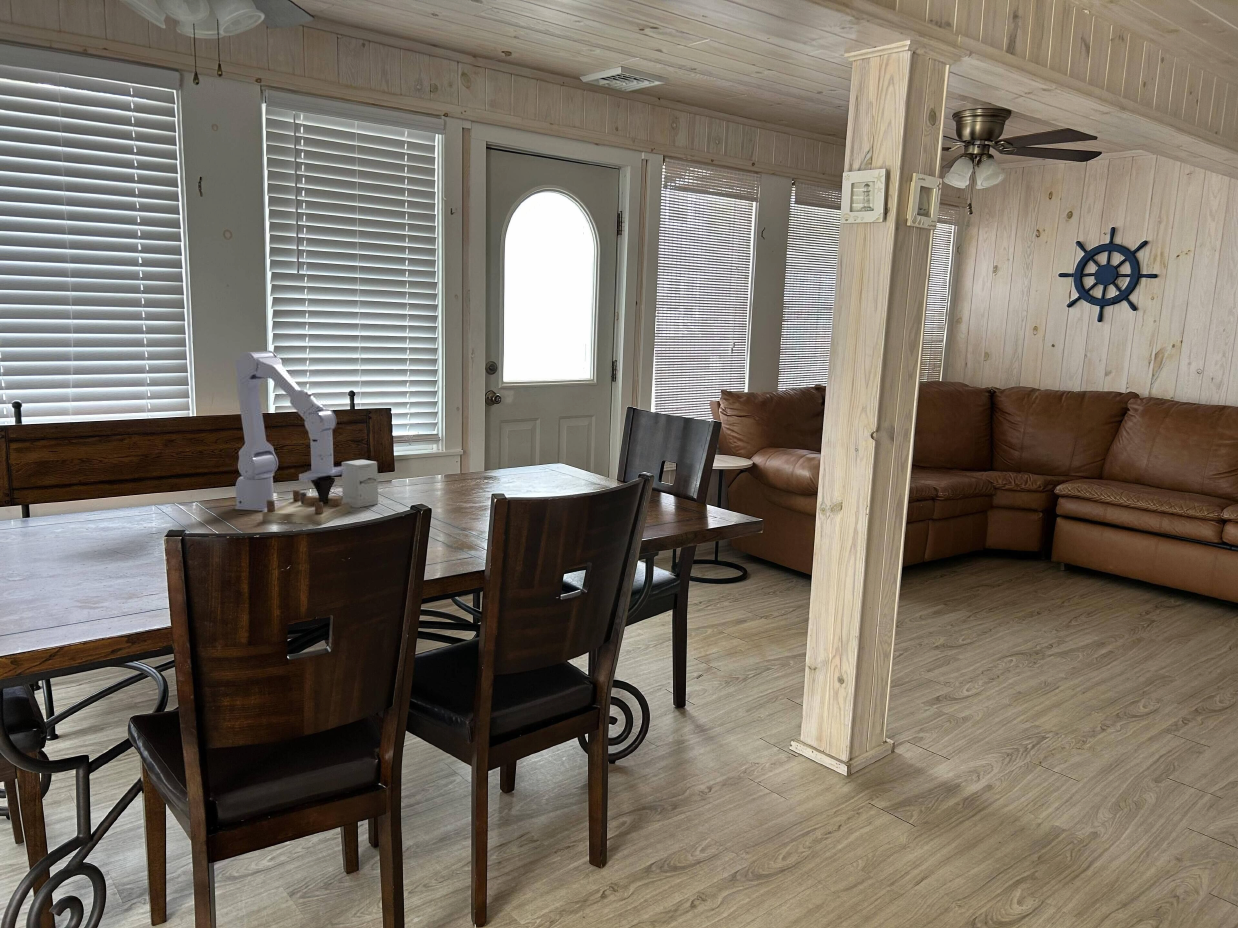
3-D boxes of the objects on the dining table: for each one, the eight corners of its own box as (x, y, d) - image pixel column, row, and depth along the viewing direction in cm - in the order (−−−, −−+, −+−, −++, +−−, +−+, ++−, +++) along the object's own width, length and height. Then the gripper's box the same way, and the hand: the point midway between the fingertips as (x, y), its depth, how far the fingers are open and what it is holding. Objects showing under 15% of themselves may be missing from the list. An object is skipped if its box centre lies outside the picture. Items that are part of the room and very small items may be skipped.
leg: (299, 503, 250) (299, 493, 249) (302, 502, 252) (302, 491, 251) (338, 505, 249) (338, 495, 248) (341, 504, 250) (341, 493, 250)
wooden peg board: (262, 521, 242) (261, 500, 241) (293, 508, 257) (292, 489, 256) (322, 524, 239) (321, 504, 238) (349, 511, 254) (349, 492, 253)
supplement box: (358, 508, 258) (356, 464, 256) (342, 504, 263) (340, 461, 260) (379, 504, 264) (378, 461, 262) (363, 500, 268) (361, 458, 266)
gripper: (311, 459, 238) (313, 510, 240) (352, 452, 250) (354, 500, 252) (292, 457, 241) (294, 507, 243) (334, 450, 253) (336, 497, 256)
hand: (323, 503), depth 248 cm, fingers closed, pressing on leg
